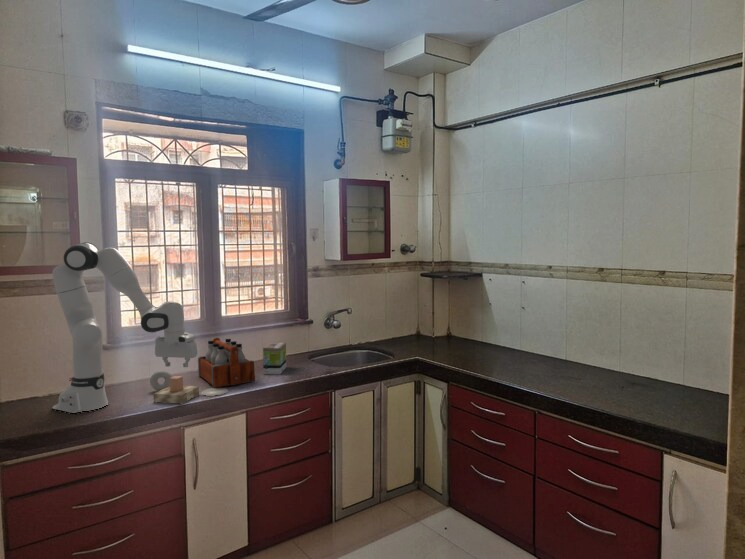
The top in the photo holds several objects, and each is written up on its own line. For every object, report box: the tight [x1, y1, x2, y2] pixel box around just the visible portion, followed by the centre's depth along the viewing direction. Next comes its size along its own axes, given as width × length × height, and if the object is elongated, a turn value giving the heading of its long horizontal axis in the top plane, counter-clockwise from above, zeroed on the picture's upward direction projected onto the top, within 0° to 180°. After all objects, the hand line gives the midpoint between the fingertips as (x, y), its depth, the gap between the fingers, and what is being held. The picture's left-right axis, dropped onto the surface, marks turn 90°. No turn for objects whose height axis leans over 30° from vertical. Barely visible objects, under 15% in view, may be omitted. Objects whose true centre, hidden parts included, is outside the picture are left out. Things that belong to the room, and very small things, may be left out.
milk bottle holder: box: [197, 337, 256, 388], centre depth 262 cm, size 21×35×19 cm, turn 33°
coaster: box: [200, 387, 228, 397], centre depth 240 cm, size 12×12×1 cm
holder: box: [152, 385, 200, 405], centre depth 231 cm, size 14×14×4 cm
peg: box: [170, 375, 184, 392], centre depth 231 cm, size 4×4×10 cm
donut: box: [149, 369, 173, 392], centre depth 243 cm, size 10×4×10 cm, turn 108°
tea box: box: [262, 342, 287, 375], centre depth 278 cm, size 15×10×15 cm
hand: (176, 366), depth 230 cm, fingers open, 8 cm apart
